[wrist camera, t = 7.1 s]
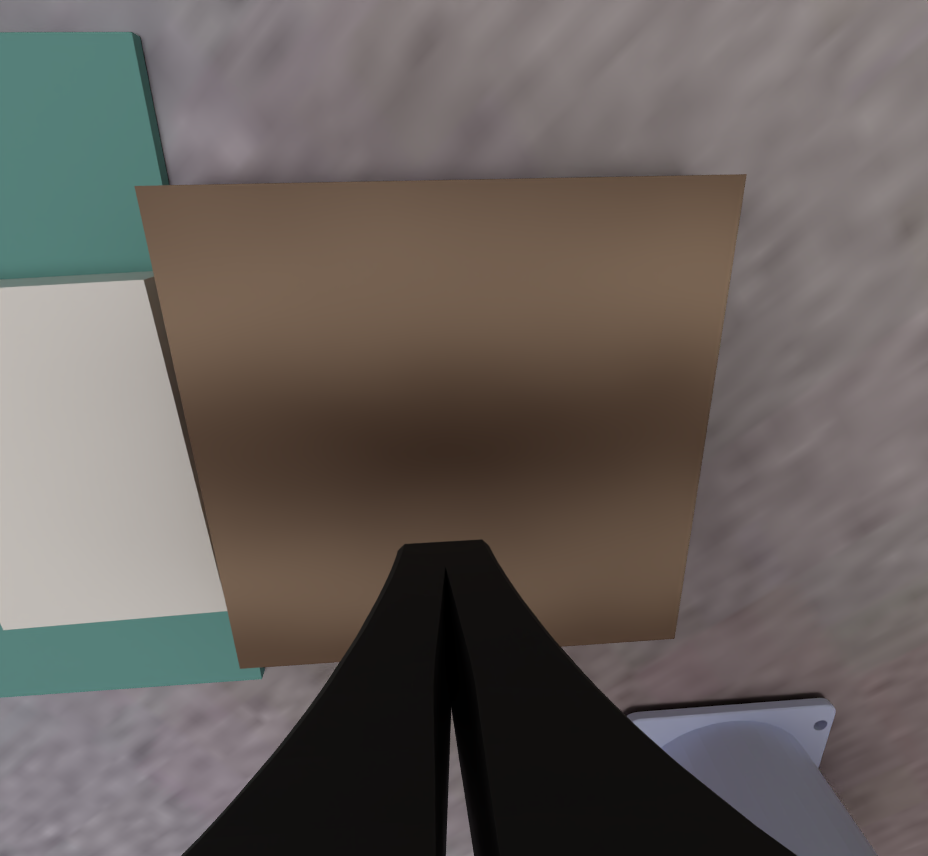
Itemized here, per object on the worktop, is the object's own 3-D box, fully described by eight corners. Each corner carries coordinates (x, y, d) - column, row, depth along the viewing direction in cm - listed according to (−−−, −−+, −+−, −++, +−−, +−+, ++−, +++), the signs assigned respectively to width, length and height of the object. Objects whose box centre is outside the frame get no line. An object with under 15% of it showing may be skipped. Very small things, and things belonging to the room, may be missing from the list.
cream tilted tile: (243, 575, 18) (227, 611, 16) (38, 592, 17) (3, 630, 16) (172, 270, 14) (143, 279, 13) (-87, 284, 14) (-148, 295, 12)
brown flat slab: (637, 573, 19) (674, 638, 16) (266, 596, 18) (240, 669, 16) (683, 176, 14) (746, 174, 12) (191, 186, 14) (134, 185, 11)
